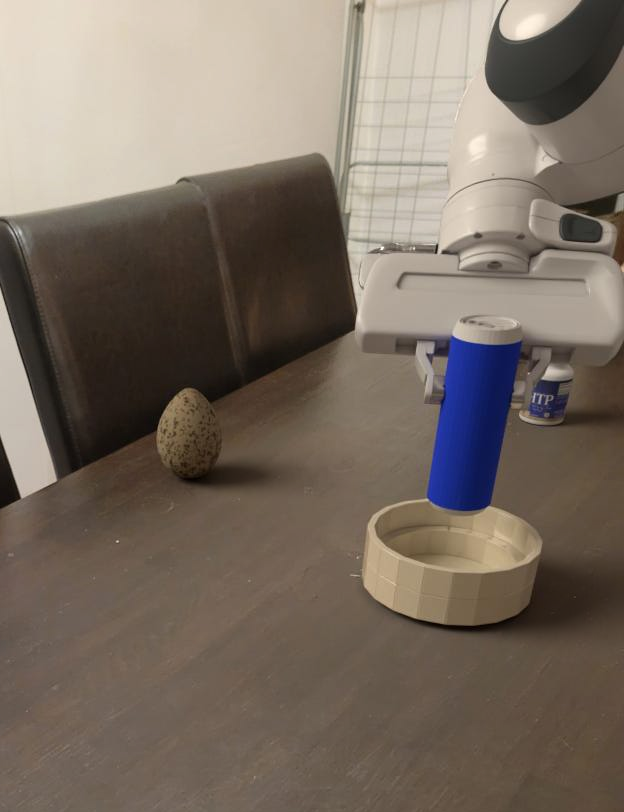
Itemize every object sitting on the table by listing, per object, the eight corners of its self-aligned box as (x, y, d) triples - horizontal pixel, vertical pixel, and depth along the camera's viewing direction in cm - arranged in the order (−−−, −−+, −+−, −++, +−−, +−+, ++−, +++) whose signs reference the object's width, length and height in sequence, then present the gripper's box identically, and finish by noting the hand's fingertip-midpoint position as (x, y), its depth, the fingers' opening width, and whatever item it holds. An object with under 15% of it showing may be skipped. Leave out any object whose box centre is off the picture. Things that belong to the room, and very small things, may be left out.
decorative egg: (232, 482, 105) (235, 392, 100) (174, 493, 103) (173, 403, 97) (202, 460, 111) (204, 374, 105) (146, 470, 108) (145, 383, 103)
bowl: (509, 554, 90) (520, 500, 87) (547, 635, 78) (562, 575, 75) (355, 550, 91) (361, 496, 88) (369, 628, 79) (377, 569, 76)
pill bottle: (510, 419, 120) (524, 348, 116) (532, 409, 123) (546, 339, 119) (549, 429, 117) (565, 356, 112) (571, 419, 120) (587, 348, 115)
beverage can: (497, 501, 81) (534, 319, 72) (478, 523, 77) (514, 334, 69) (438, 488, 83) (466, 310, 75) (416, 509, 79) (444, 325, 71)
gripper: (364, 219, 77) (342, 376, 74) (639, 226, 72) (627, 393, 69) (362, 266, 83) (341, 412, 80) (616, 275, 78) (603, 431, 75)
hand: (476, 404), depth 75 cm, fingers closed on beverage can, 5 cm apart
